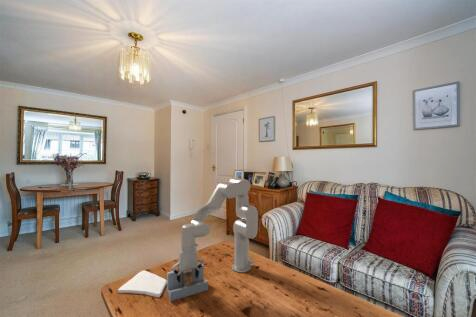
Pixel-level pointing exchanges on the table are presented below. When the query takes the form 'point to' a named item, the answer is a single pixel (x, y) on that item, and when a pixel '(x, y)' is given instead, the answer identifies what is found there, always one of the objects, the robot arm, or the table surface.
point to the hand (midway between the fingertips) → (187, 279)
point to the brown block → (187, 278)
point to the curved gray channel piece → (179, 291)
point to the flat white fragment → (144, 284)
